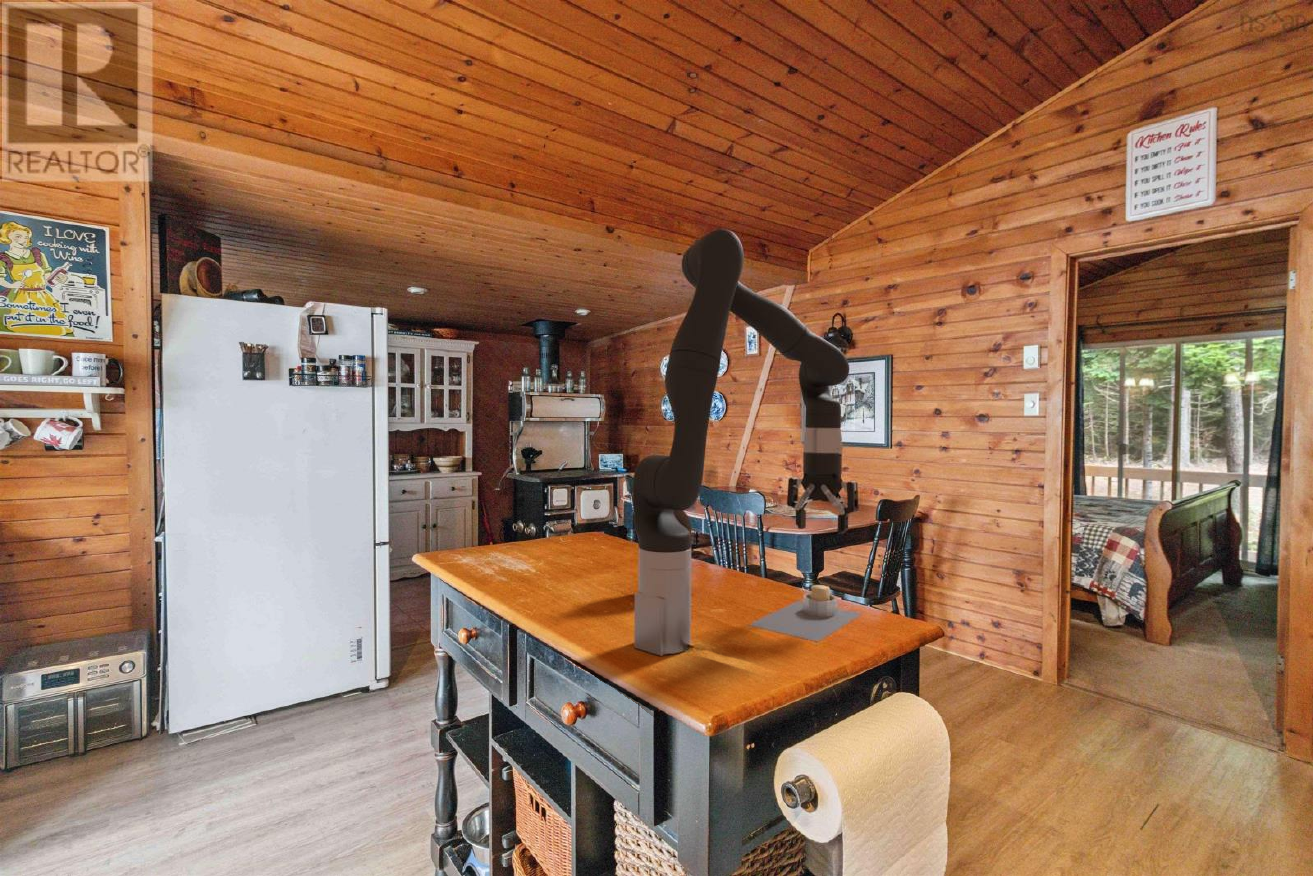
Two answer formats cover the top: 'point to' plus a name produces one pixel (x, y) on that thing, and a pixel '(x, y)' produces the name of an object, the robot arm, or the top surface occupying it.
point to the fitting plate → (806, 619)
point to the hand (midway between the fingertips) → (821, 530)
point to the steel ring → (820, 606)
